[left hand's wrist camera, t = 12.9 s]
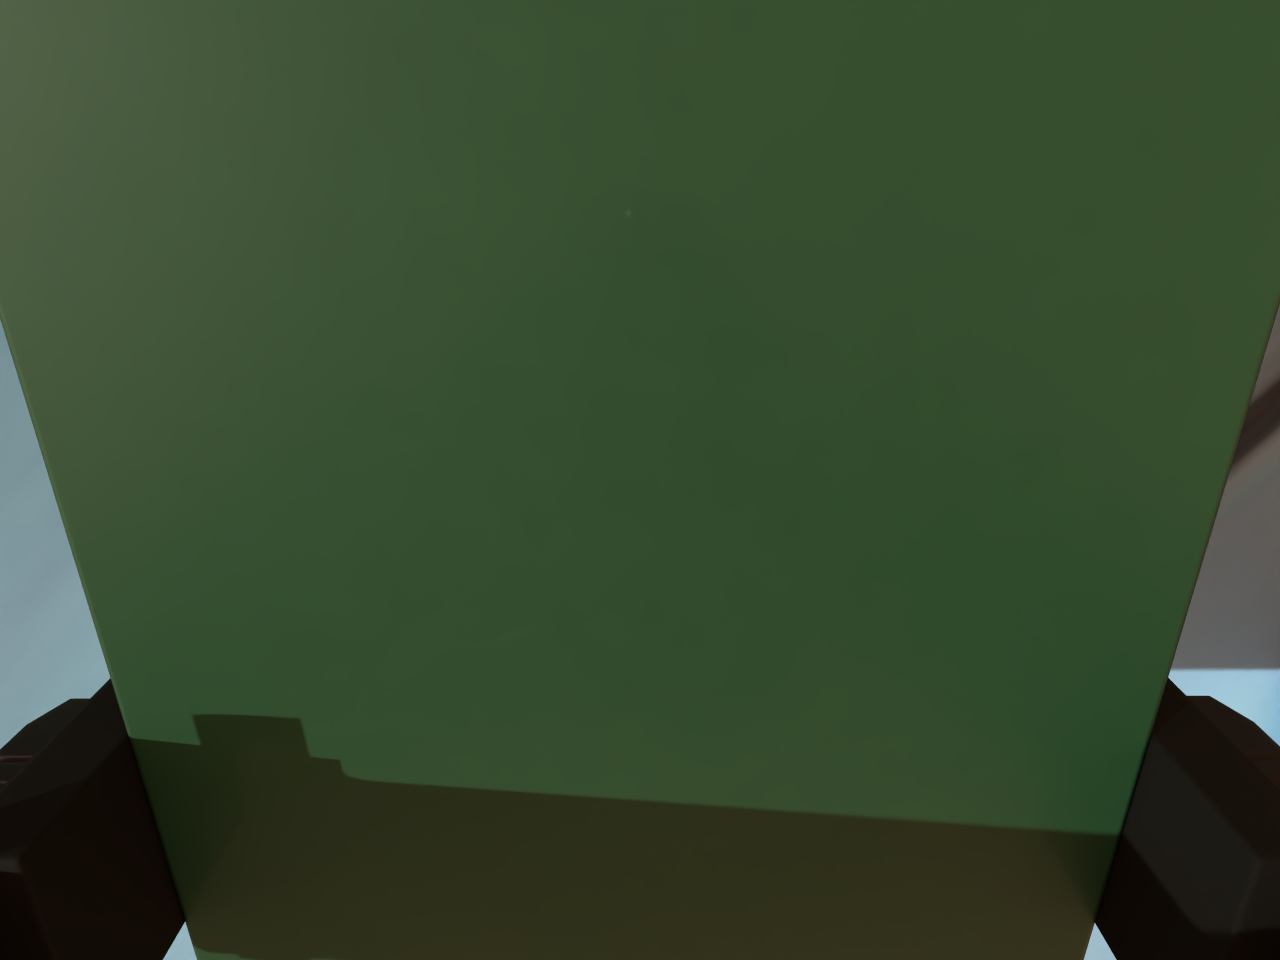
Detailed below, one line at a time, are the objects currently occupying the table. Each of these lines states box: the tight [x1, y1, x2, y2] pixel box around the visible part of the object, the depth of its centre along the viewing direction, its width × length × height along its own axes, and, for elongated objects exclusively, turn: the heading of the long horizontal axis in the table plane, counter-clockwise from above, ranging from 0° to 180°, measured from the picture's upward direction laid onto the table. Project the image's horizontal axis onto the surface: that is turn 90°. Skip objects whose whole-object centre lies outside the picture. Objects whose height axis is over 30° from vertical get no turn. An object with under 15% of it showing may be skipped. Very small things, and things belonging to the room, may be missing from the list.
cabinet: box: [0, 0, 1280, 960], centre depth 11 cm, size 20×10×11 cm, turn 0°
